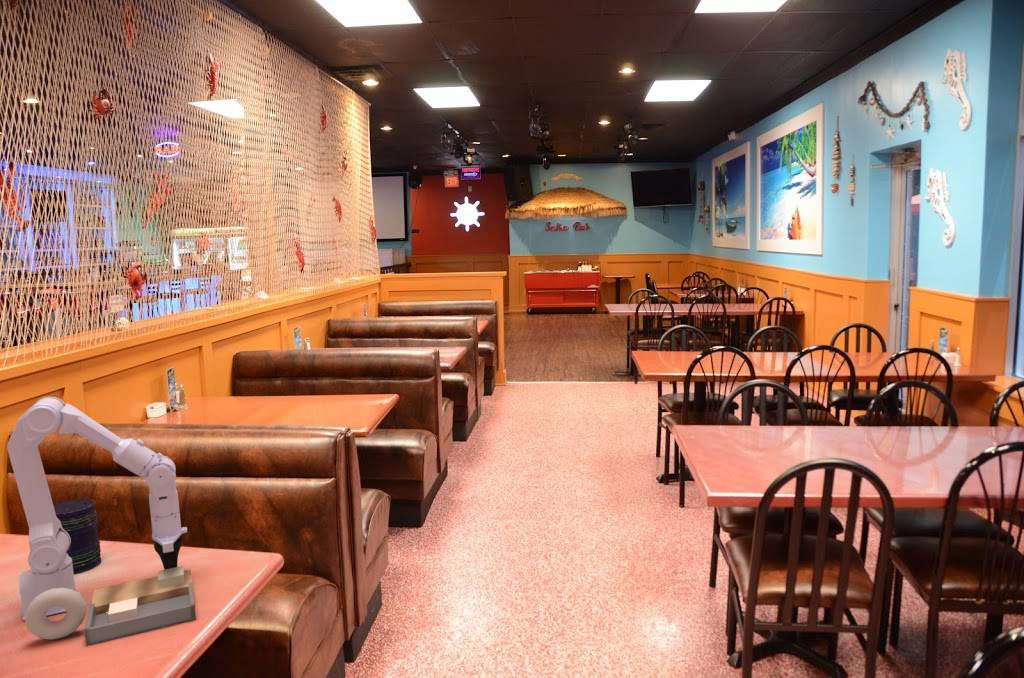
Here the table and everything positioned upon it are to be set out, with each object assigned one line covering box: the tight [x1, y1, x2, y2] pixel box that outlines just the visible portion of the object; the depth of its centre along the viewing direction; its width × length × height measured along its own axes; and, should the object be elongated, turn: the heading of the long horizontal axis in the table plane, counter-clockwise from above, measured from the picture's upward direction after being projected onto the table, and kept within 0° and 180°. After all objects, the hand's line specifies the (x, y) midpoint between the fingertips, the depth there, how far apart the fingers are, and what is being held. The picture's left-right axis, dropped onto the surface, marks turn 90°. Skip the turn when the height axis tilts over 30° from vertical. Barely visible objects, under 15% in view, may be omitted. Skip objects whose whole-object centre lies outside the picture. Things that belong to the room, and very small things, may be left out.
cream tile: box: [108, 598, 138, 623], centre depth 144 cm, size 5×5×2 cm
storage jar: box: [53, 498, 102, 575], centre depth 168 cm, size 10×10×15 cm
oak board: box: [91, 569, 193, 615], centre depth 153 cm, size 19×9×2 cm, turn 116°
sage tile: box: [157, 565, 185, 589], centre depth 155 cm, size 5×5×2 cm
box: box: [84, 581, 197, 646], centre depth 143 cm, size 19×12×3 cm, turn 116°
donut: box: [24, 588, 87, 641], centre depth 137 cm, size 10×4×10 cm, turn 116°
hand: (171, 571), depth 158 cm, fingers closed
